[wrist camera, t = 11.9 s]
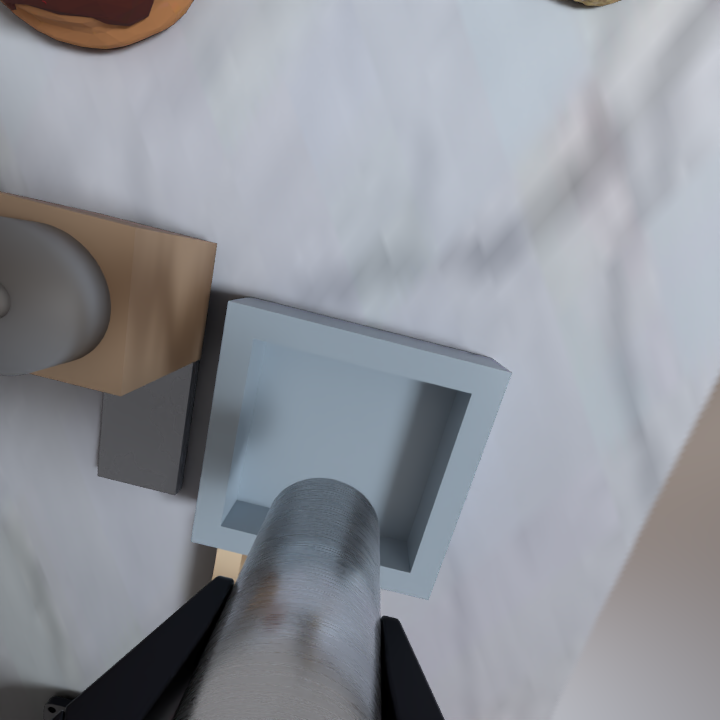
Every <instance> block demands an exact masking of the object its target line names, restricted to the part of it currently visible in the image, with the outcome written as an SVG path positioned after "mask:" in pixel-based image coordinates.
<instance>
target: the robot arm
mask: <svg viewBox="0 0 720 720" xmlns="http://www.w3.org/2000/svg"><path fill="white" fill-rule="evenodd" d="M233 586H234V580H233V579H232V578H228V577H224V576H217V577H216V578H214V579H213V580H212V581H211V582H210V583H209V584H207V585H206V586H205V587H204V588H203V589H202V590H200V591H199V592H198V593H197V594H196V595H195V596H193V597H192V598H191V599H190V600H189V601H188V602H187V603H185V604H184V605H183V606H182V607H181V608H180V609H178V610H177V611H176V612H175V613H174V614H173V615H171V616H170V617H169V618H168V619H167V620H166V621H164V622H163V623H162V624H161V625H160V626H159V627H158V628H156V629H155V630H154V631H153V632H152V633H151V634H149V635H148V636H147V637H146V638H145V639H144V640H142V641H141V642H140V643H139V644H138V645H137V646H136V647H134V648H133V649H132V650H131V651H130V652H129V653H127V654H126V655H125V656H124V657H123V658H122V659H120V660H119V661H118V662H117V663H116V664H115V665H113V666H112V667H111V668H110V669H109V670H108V671H107V672H105V673H104V674H103V675H102V676H101V677H100V678H98V679H97V680H96V681H95V682H94V683H93V684H91V685H90V686H89V687H88V688H87V689H86V690H84V691H83V692H82V693H81V694H80V695H79V696H78V697H76V698H75V699H74V700H70V699H66V698H62V697H57V696H54V697H52V698H51V699H50V700H49V701H48V702H47V704H46V705H45V707H44V720H172V718H173V716H174V714H175V711H176V709H177V707H178V705H179V703H180V701H181V698H182V696H183V694H184V692H185V690H186V688H187V686H188V683H189V681H190V679H191V677H192V675H193V673H194V670H195V668H196V666H197V664H198V662H199V660H200V657H201V655H202V653H203V651H204V649H205V647H206V645H207V642H208V640H209V638H210V636H211V634H212V632H213V629H214V627H215V625H216V623H217V621H218V619H219V617H220V614H221V612H222V610H223V608H224V606H225V604H226V601H227V599H228V597H229V595H230V593H231V591H232V588H233ZM381 709H382V720H445V719H444V717H443V715H442V713H441V711H440V708H439V706H438V704H437V702H436V700H435V697H434V695H433V693H432V691H431V689H430V687H429V684H428V682H427V680H426V678H425V676H424V673H423V671H422V669H421V667H420V665H419V662H418V660H417V658H416V656H415V654H414V651H413V649H412V647H411V645H410V643H409V640H408V638H407V636H406V634H405V632H404V630H403V627H402V625H401V623H400V621H399V620H398V619H396V618H392V617H388V616H382V618H381Z"/></svg>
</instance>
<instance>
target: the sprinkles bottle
mask: <svg viewBox="0 0 720 720" xmlns="http://www.w3.org/2000/svg"><path fill="white" fill-rule="evenodd" d="M574 1H576V2H581V3H583V4H585V5H586V6H604V5H608V4H612V3H615V2H618V1H621V0H574Z"/></svg>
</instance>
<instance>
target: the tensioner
mask: <svg viewBox="0 0 720 720" xmlns="http://www.w3.org/2000/svg"><path fill="white" fill-rule="evenodd" d="M216 248H217V243H213V242H209V241H205V240H201V239H197V238H193V237H189V236H185V235H182V234H178V233H174V232H170V231H166V230H162V229H158V228H154V227H150V226H146V225H142V224H138V223H135V222H131V221H127V220H123V219H119V218H115V217H111V216H107V215H103V214H99V213H95V212H91V211H86V210H82V209H77V208H73V207H68V206H64V205H59V204H55V203H50V202H46V201H41V200H37V199H32V198H28V197H23V196H19V195H14V194H10V193H5V192H1V191H0V375H5V376H16V375H23V374H28V373H29V374H33V375H37V376H41V377H45V378H49V379H53V380H57V381H61V382H65V383H69V384H73V385H77V386H81V387H85V388H89V389H93V390H97V391H101V392H105V393H109V394H113V395H117V396H123V395H125V394H127V393H129V392H131V391H134V390H136V389H138V388H140V387H142V386H144V385H146V384H148V383H150V382H153V381H155V380H157V379H159V378H161V377H163V376H165V375H167V374H170V373H172V372H174V371H176V370H178V369H180V368H182V367H184V366H187V365H189V364H191V363H193V362H195V361H197V360H199V359H201V354H202V347H203V340H204V333H205V325H206V318H207V311H208V304H209V297H210V290H211V283H212V276H213V269H214V262H215V255H216Z"/></svg>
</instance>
